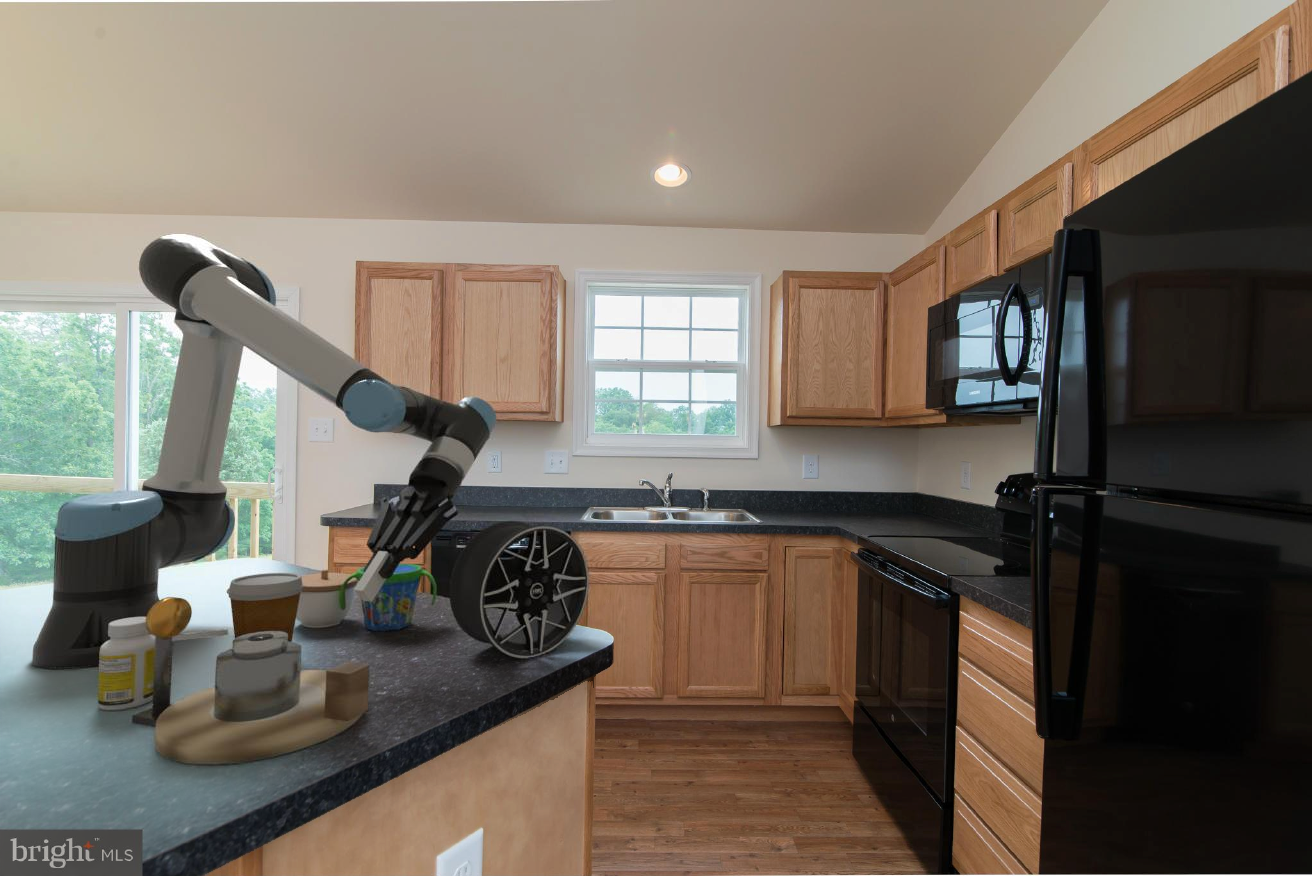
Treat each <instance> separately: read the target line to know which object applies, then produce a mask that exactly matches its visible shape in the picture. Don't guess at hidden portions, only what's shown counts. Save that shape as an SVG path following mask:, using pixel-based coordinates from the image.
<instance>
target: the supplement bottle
mask: <svg viewBox="0 0 1312 876" xmlns="http://www.w3.org/2000/svg"><path fill="white" fill-rule="evenodd" d="M108 636H109V637H111V639H110V640H108V641H107V642H105V643H104V644H103V645H102V646H101V648H100V654H99V665H98V685H97V688H98V689H97V693H98V694H97V705H98V708H99V709H101V710H103V711H107V712H108V711H110V712H111V711H114V712H115V711H122V710H123V711H124V710H127V709H131V708H135V707H139V706H143V705H144V704H147V703H149V702H152V701H153V680H154V658H155V636H153V635H150V634H149V632H148V630H147V628H146V617H131V618H125V619H120V620H116V621H113V622H111V623H109V625H108Z"/></svg>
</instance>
